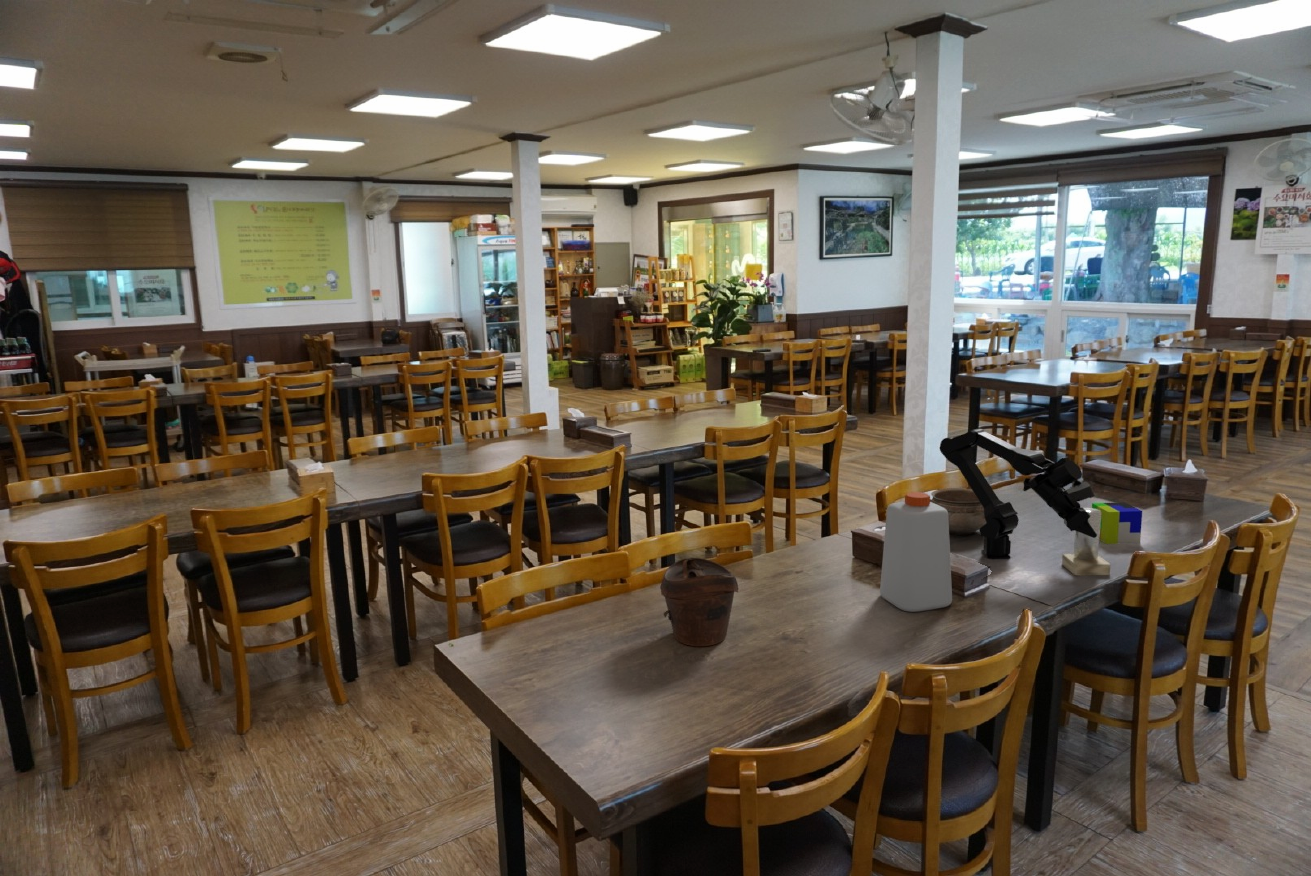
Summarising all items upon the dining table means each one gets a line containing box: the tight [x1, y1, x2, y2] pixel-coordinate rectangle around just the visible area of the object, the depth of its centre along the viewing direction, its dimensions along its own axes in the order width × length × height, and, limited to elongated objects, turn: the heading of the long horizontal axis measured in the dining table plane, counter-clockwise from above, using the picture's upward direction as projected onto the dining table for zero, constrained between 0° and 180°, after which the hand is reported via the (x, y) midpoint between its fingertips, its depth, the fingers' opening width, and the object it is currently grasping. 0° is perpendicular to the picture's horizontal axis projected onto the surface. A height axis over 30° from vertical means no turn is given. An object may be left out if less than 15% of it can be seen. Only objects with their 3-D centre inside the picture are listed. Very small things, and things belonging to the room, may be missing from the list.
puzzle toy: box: [1091, 501, 1143, 545], centre depth 258 cm, size 10×10×10 cm
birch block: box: [1061, 553, 1111, 576], centre depth 234 cm, size 9×9×3 cm
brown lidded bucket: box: [659, 556, 740, 647], centre depth 200 cm, size 18×20×18 cm
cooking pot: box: [930, 487, 987, 536], centre depth 270 cm, size 25×19×12 cm
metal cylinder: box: [1073, 507, 1101, 560], centre depth 232 cm, size 6×6×13 cm
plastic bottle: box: [879, 491, 953, 613], centre depth 215 cm, size 15×15×28 cm
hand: (1092, 533), depth 232 cm, fingers closed on metal cylinder, 6 cm apart
